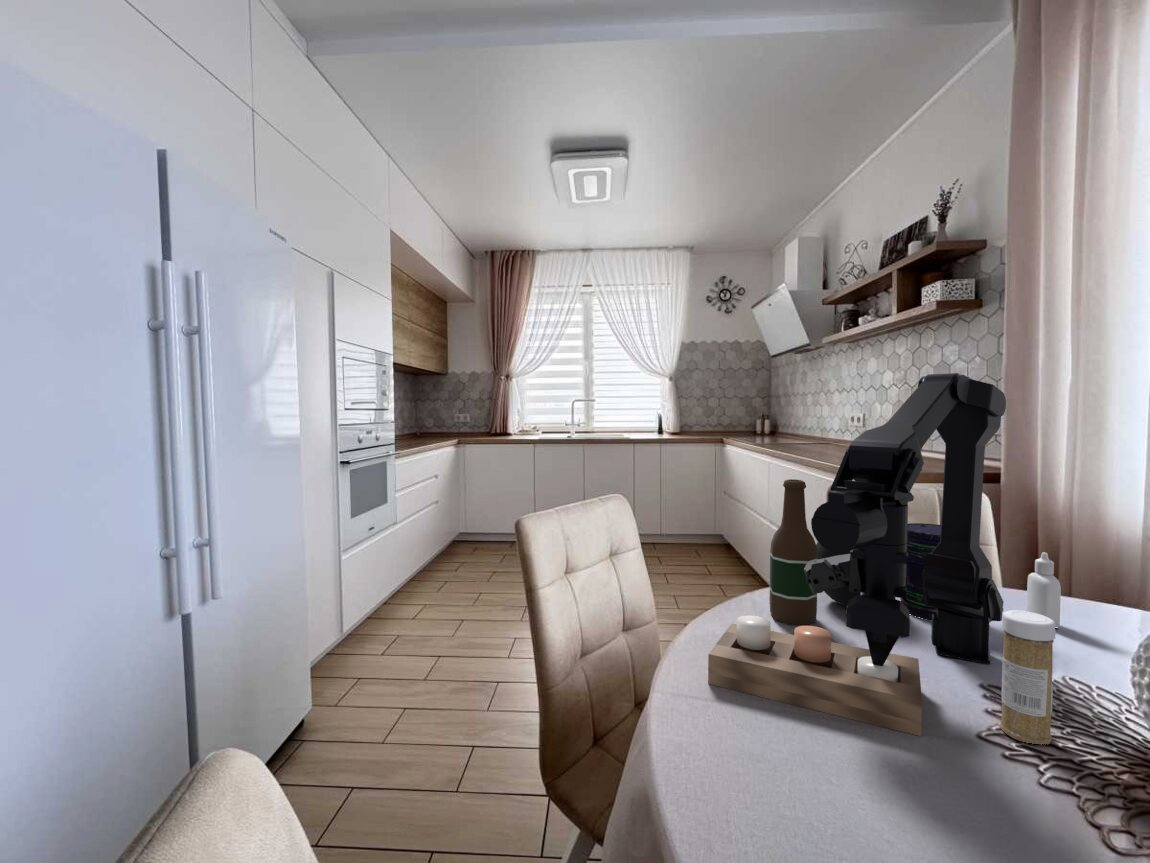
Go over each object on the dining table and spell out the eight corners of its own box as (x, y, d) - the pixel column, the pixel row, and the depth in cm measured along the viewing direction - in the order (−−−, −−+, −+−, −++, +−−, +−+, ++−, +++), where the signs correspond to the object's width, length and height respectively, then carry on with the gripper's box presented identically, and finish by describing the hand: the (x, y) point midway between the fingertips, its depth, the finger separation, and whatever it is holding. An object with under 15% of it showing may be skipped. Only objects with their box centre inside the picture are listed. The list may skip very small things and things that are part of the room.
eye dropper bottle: (1059, 621, 95) (1062, 551, 94) (1059, 631, 91) (1062, 558, 90) (1026, 615, 98) (1028, 547, 97) (1025, 624, 93) (1027, 554, 93)
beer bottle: (812, 630, 92) (815, 484, 90) (764, 620, 96) (765, 481, 95) (820, 615, 98) (822, 479, 97) (774, 606, 102) (776, 476, 101)
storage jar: (978, 622, 94) (981, 535, 94) (920, 622, 95) (922, 535, 94) (940, 602, 104) (942, 523, 104) (888, 602, 104) (889, 523, 104)
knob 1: (773, 640, 77) (773, 619, 77) (766, 652, 74) (767, 630, 74) (740, 634, 80) (741, 613, 80) (733, 645, 76) (733, 623, 76)
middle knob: (832, 651, 74) (832, 629, 74) (828, 665, 70) (829, 641, 70) (796, 645, 76) (797, 623, 76) (791, 657, 72) (792, 634, 72)
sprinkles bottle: (1058, 738, 62) (1062, 618, 61) (1042, 752, 59) (1046, 627, 58) (1008, 719, 65) (1011, 605, 65) (991, 731, 63) (995, 613, 62)
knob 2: (897, 684, 70) (897, 661, 70) (897, 700, 66) (898, 675, 66) (858, 676, 72) (858, 653, 72) (856, 691, 68) (856, 667, 68)
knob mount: (917, 688, 72) (918, 658, 72) (921, 736, 62) (922, 701, 62) (731, 649, 84) (731, 623, 84) (708, 683, 74) (708, 654, 74)
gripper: (818, 520, 81) (816, 626, 81) (798, 548, 64) (797, 681, 65) (907, 528, 75) (905, 642, 76) (911, 561, 59) (908, 706, 60)
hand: (877, 664), depth 69 cm, fingers closed, pressing on knob 2
